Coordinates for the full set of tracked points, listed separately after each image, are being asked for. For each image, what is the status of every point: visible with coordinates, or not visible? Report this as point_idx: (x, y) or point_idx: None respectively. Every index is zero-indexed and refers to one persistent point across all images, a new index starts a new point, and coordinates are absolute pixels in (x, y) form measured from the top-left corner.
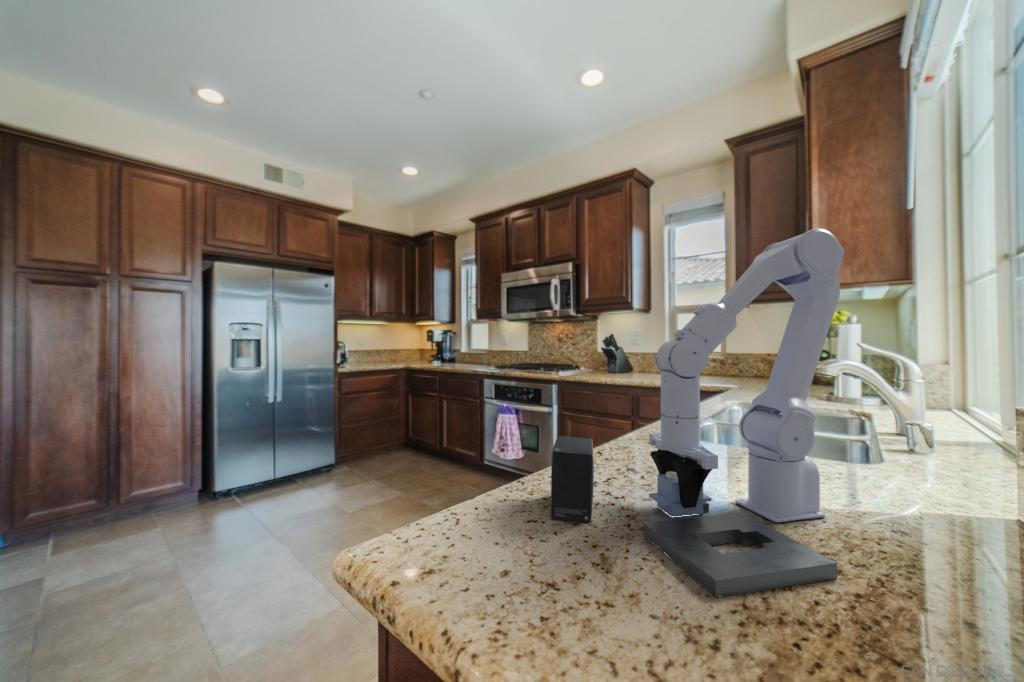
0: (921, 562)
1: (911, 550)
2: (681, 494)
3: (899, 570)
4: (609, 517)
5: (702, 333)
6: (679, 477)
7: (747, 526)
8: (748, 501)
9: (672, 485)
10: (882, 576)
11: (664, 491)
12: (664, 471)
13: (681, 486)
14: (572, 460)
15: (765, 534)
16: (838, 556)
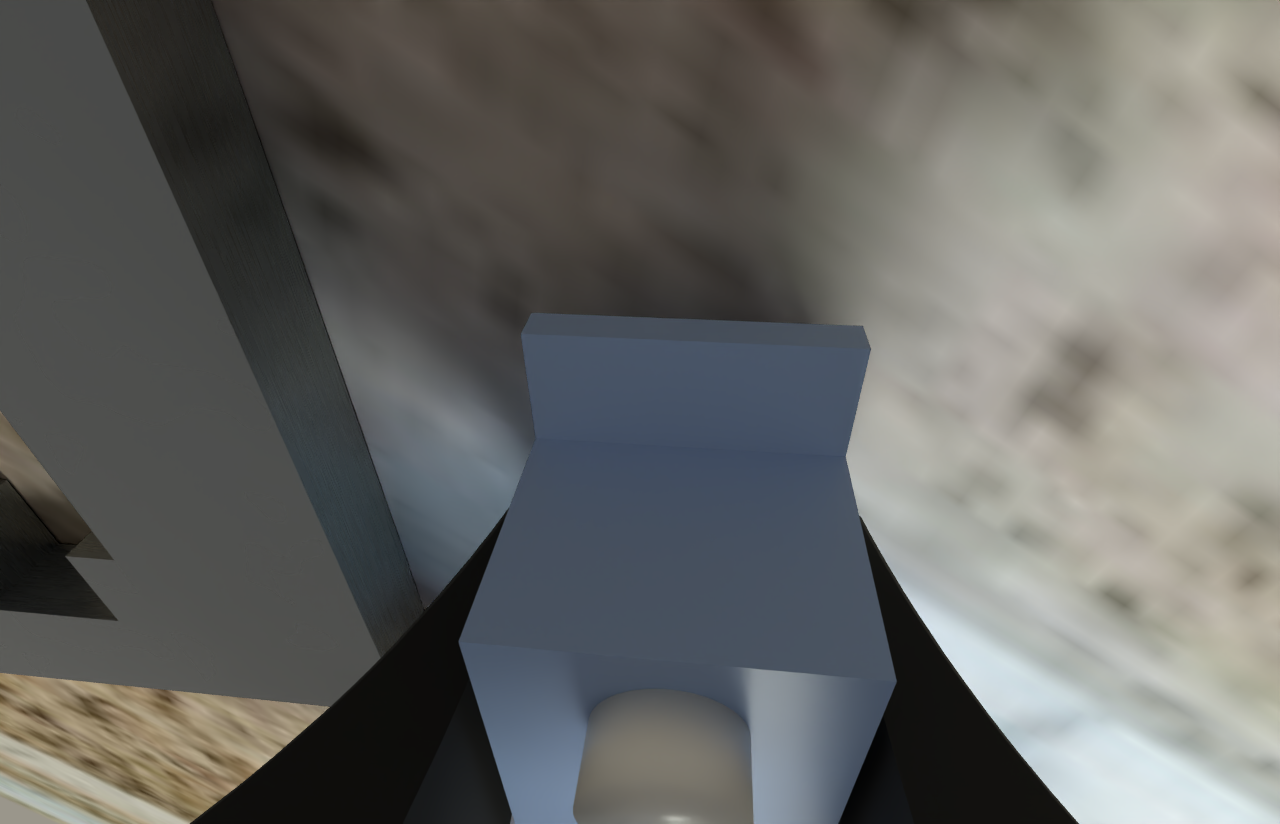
0: (174, 814)
1: None
2: (480, 578)
3: (95, 755)
4: None
5: None
6: (351, 790)
7: (173, 621)
8: None
9: (477, 611)
10: (25, 703)
11: (682, 499)
12: (895, 806)
13: (413, 665)
14: None
15: (81, 626)
16: (149, 708)
